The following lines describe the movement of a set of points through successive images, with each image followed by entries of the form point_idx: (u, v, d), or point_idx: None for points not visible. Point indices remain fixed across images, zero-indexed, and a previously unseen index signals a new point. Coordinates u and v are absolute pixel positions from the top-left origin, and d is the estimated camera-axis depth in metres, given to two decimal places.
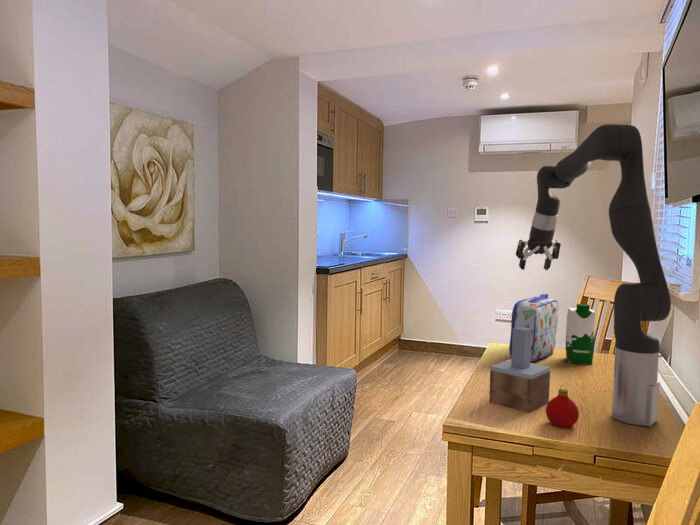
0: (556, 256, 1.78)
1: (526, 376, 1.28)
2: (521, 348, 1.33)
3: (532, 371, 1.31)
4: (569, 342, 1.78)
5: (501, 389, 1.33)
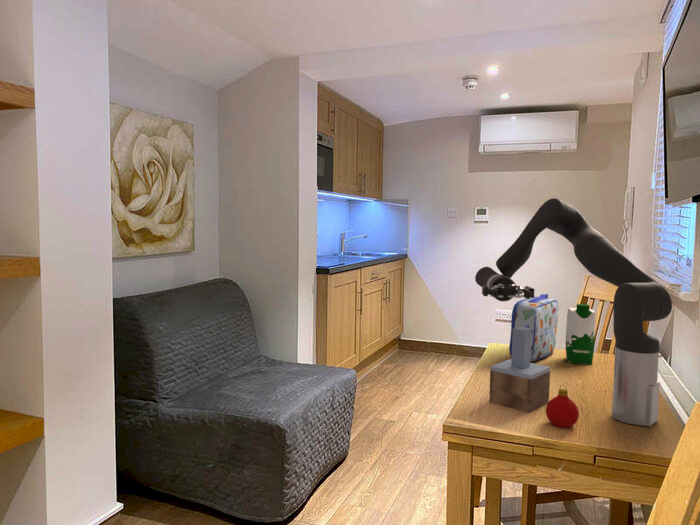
0: (531, 288, 1.50)
1: (526, 376, 1.28)
2: (521, 348, 1.33)
3: (532, 371, 1.31)
4: (569, 342, 1.78)
5: (501, 389, 1.33)
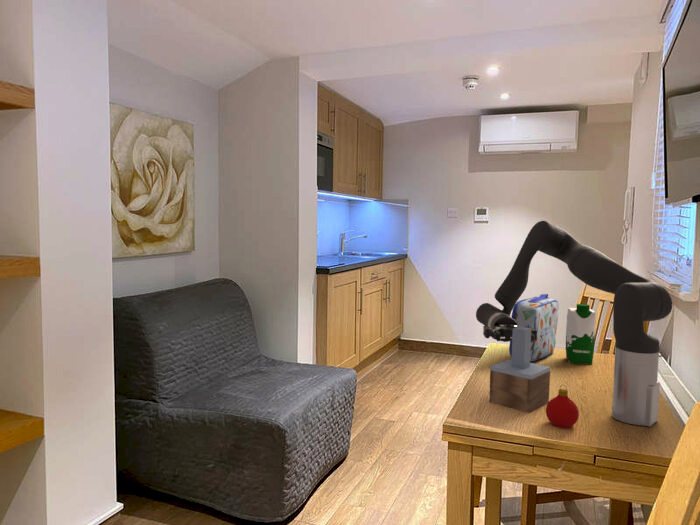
0: (534, 330, 1.46)
1: (526, 376, 1.28)
2: (521, 348, 1.33)
3: (532, 371, 1.31)
4: (569, 342, 1.78)
5: (501, 389, 1.33)
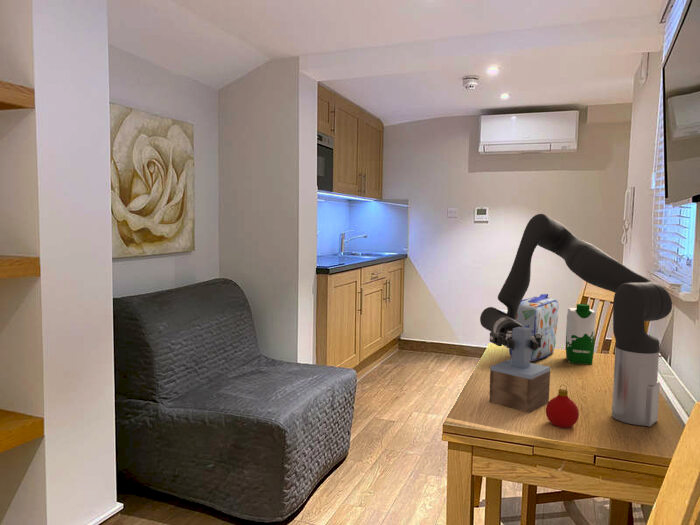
0: (538, 337, 1.37)
1: (526, 376, 1.28)
2: (521, 348, 1.33)
3: (532, 371, 1.31)
4: (569, 342, 1.78)
5: (501, 389, 1.33)
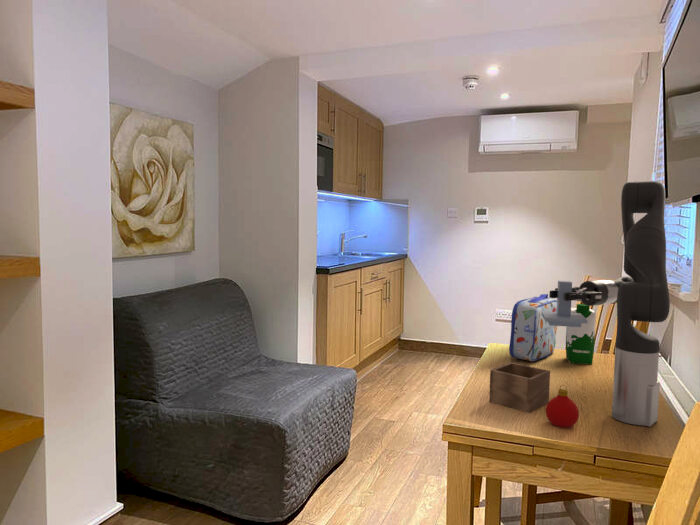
0: (585, 292, 1.49)
1: (545, 318, 1.50)
2: (558, 298, 1.52)
3: (558, 317, 1.49)
4: (569, 342, 1.78)
5: (501, 389, 1.33)
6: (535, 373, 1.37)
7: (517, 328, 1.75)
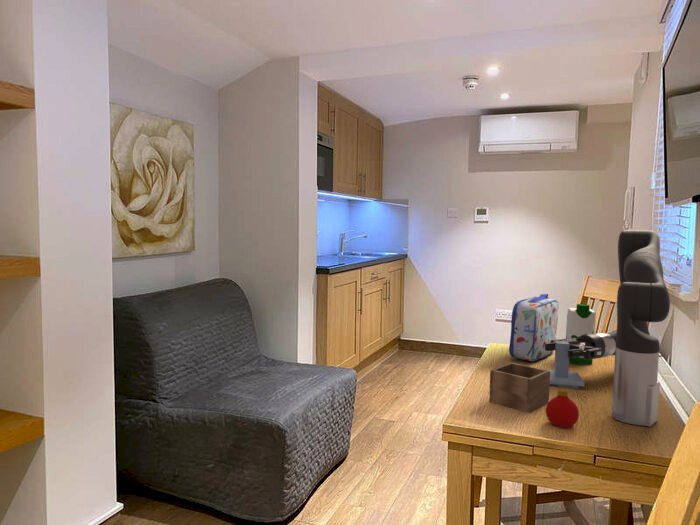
0: (588, 349, 1.49)
1: None
2: (555, 359, 1.53)
3: (555, 379, 1.51)
4: None
5: (501, 389, 1.33)
6: (535, 373, 1.37)
7: (517, 328, 1.75)
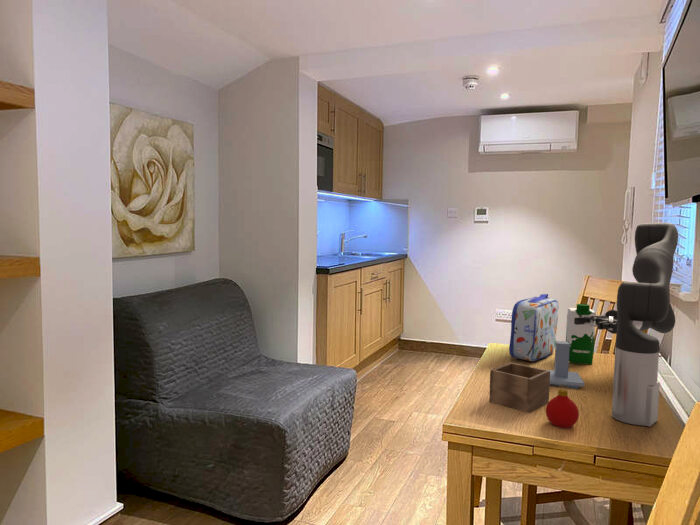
0: None
1: None
2: (556, 359, 1.53)
3: (555, 379, 1.51)
4: (569, 342, 1.78)
5: (501, 389, 1.33)
6: (535, 373, 1.37)
7: (517, 328, 1.75)
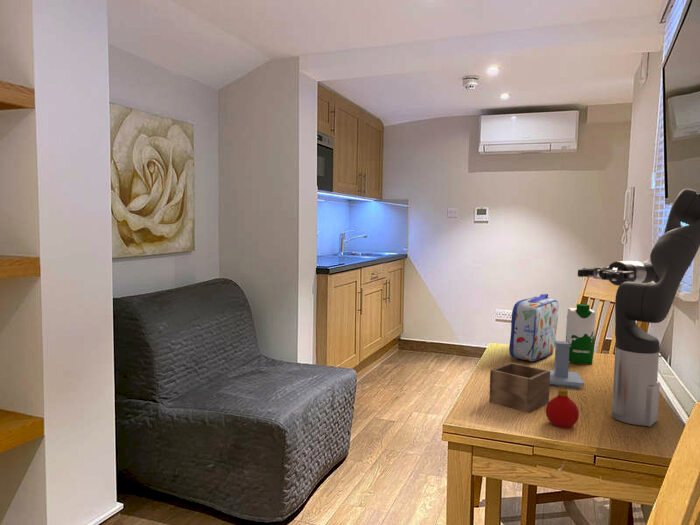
0: (621, 271, 1.53)
1: None
2: (556, 359, 1.53)
3: (555, 379, 1.51)
4: (569, 342, 1.78)
5: (501, 389, 1.33)
6: (535, 373, 1.37)
7: (517, 328, 1.75)
